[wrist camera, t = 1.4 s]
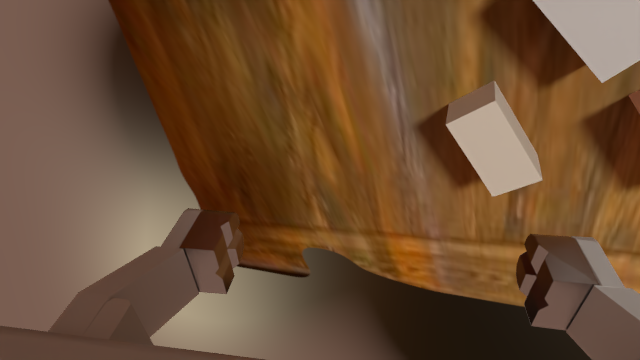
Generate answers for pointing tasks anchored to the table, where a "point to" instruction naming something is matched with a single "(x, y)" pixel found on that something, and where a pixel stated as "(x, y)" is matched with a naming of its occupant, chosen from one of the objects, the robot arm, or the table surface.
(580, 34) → the pale grey brick
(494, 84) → the cream brick
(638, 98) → the terracotta brick
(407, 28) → the table surface
